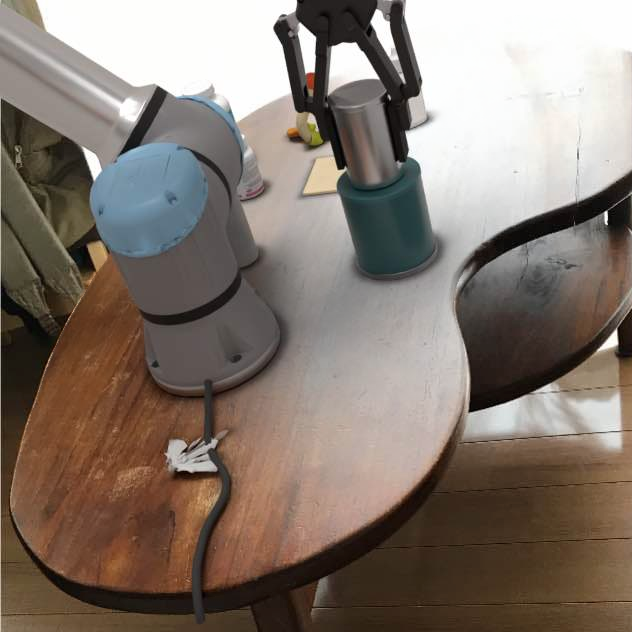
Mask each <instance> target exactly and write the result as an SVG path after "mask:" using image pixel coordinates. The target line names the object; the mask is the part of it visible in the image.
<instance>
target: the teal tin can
mask: <svg viewBox="0 0 632 632" xmlns="http://www.w3.org/2000/svg"><path fill="white" fill-rule="evenodd" d="M403 164H404V169H405V170H404V174H403V175H402V177H401V178H400V179H399V180H397V181H396V182H394V183H393V184H391V185H388V186H386V187H383V188H379V189H374V190H361V189H357V188H355V187H353V186H352V185H351V184H350V181H349V178H348V174H347V170H346V171H345V172H344V173H343V174H342V175H341V176H340V177H339V179H338V181H337V191H338V192H337V194H338V195H339V198H340V202H341V206H342V209H343V213H344V217H345V220H346V224H347V228H348V230H349V234H350V238H351V241H352V246H353V249H354V253H355V262H356V266H357V269H358V270H359V272H360V273H361V274H362V275H364V276H365V277H367V278H369V279H372V280H378V281H393V280H394V281H395V280H400V279H404V278H409V277H411V276H413V275H414V276H415V274H417V273H420V272H422V271H423V270H424V269H426V268H428V267H429V266H430V265H431V264H432V263H433V262H434V260H435V259H436V257H437V255H438V252H439V251H438V249H439V248H438V243H437V239H436V237H435V236H434V231H433V227H432V222H431V217H430V213H429V212H430V211H429V207H428V202H427V197H426V192H425V188H424V187H425V186H424V183H423V178H422V168H421V165H420V163H419V162H418V161H417V160H416V159H415V158H413V157H411V156H409V155H408V156H407V160H406V162H403Z"/></svg>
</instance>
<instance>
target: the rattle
mask: <svg viewBox="0 0 632 632" xmlns="http://www.w3.org/2000/svg"><path fill="white" fill-rule="evenodd" d="M305 73H306V78H307V84H308V89H309V95H310V96H312V97H313V88H314V73H315V71H314V72H313V71H310V72H309V71H308V72H305ZM327 108H328V104H327ZM296 113H297V114H296V119H295V122H296V123H295V127H291V128H288V129H287V131H286V133H285V134H286V136H288V137H291V138H292V137H300V138H301V139H302V140H303V141H304V142H305V144H306V145H310V146H320V145H322V144H323V143H324V142H323V140H322V139H321V137H320V134H319V130H318V131H317V130H316V129H317V128H316V127H317V124H316V123H310V122H308V119H309V115H310V113H308V112H303V113H298V112H296Z"/></svg>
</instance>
